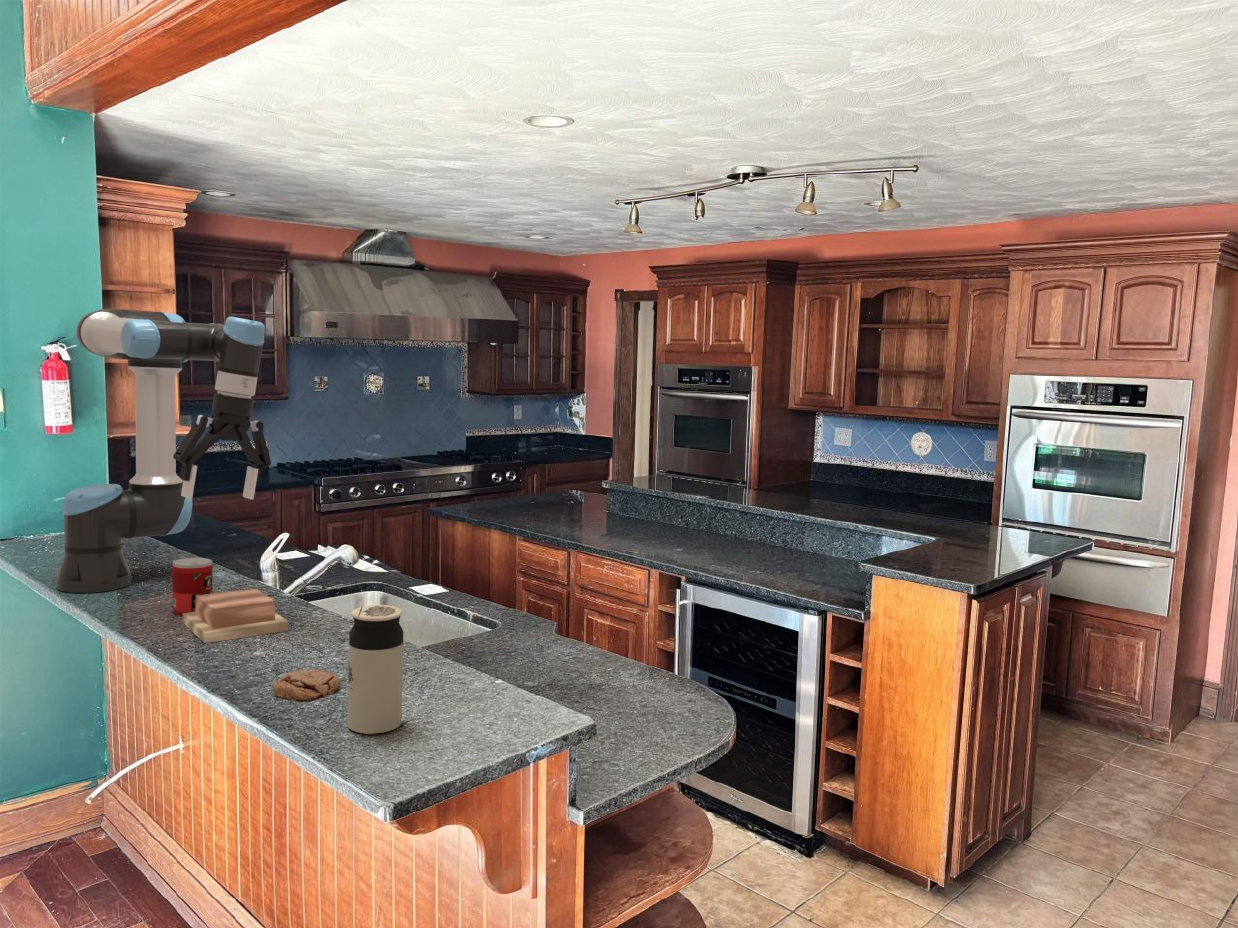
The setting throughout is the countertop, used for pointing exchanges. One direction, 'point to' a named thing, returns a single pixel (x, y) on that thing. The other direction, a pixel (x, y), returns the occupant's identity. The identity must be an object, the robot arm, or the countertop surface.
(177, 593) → the canned food
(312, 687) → the cookie
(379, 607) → the travel mug
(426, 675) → the countertop surface
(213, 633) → the stand
